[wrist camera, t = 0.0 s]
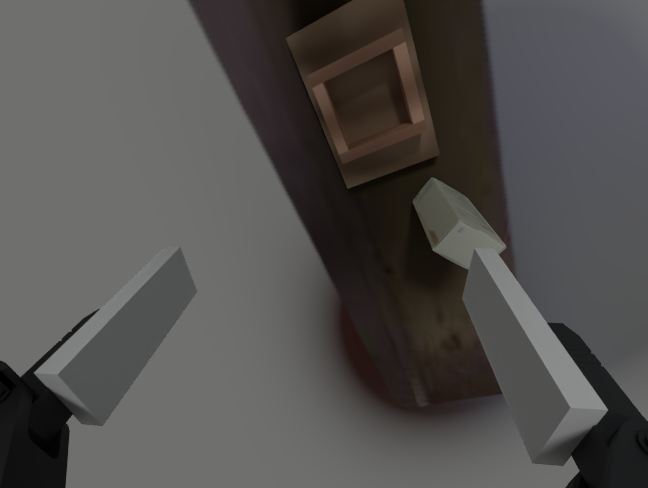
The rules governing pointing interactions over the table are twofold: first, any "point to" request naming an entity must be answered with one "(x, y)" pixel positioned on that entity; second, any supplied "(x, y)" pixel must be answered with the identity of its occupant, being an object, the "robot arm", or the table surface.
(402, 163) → the collar plate
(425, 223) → the skincare box
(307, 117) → the table surface
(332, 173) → the table surface
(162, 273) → the robot arm
